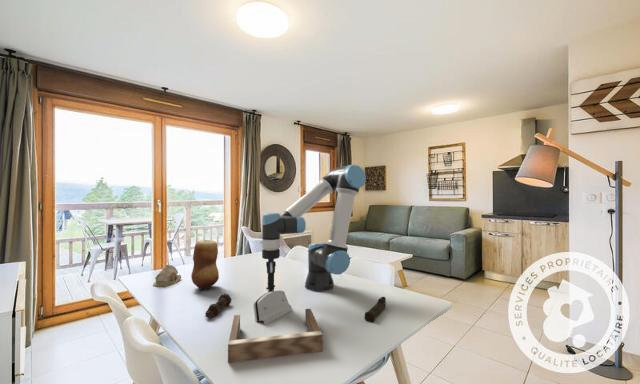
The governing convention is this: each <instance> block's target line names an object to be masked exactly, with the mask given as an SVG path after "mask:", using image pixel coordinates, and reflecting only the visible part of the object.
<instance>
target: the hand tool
mask: <svg viewBox="0 0 640 384" xmlns="http://www.w3.org/2000/svg"><path fill="white" fill-rule="evenodd" d="M386 301H387V300H386V297H385V296H381V297H380V298H378V299H377V302H376V303H375V304H374V306H372V307H371V308H369V310H368V311H365V313H364V320H365V321H366V322H369V323H374V322H375V320H376V317H378V315H380V313H381V312H382V311H385V309H386V305H387V303H386Z"/></svg>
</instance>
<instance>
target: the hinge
mask: <svg viewBox="0 0 640 384" xmlns="http://www.w3.org/2000/svg"><path fill="white" fill-rule="evenodd" d="M292 310H293V308H292V305H291V304H290V303H289V301H288V297H287V295H286V292H285V291H284V290H274V291H272V292H268V291H267V292H265V293H264V294H262V295H261V296H259V297H258V298H256V300H255V301H254V302H253V312H254V319H255V322H262V321H263V324H264V325H267V324H269V323H271V322H272V321H274V320H275V319H278V318H280V317H282V316H283V315H285V314H287V313H289V312H291V311H292Z"/></svg>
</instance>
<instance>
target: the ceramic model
mask: <svg viewBox="0 0 640 384" xmlns="http://www.w3.org/2000/svg"><path fill="white" fill-rule="evenodd" d="M178 273H179V272H178V269H177V268H176V267H175V266H173V265H172V264H170V265H169V264H165V266H164V267H163V268H162V269H161V271H160V272H159V273H158V274H156V276H155V282H153V284H152V285H153V287H167V286H173V285H175V284H177V283H179V282H180V281H181V280H182V275H180V274H178Z"/></svg>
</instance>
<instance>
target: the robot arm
mask: <svg viewBox="0 0 640 384" xmlns="http://www.w3.org/2000/svg"><path fill="white" fill-rule="evenodd" d="M366 179H367V176H366V173H365V171H364V169H363V168H362V167H361V166H360V165H357V164H348V165H344V166H343V165H342V166H337V167H335V168H333V169H331V170H330V171H329V172H328V173H326V174H325V175H324V176H323V177H322V178H320V179H319V182H318V183H317V184H316V185H315V186H313V187H312V188H311V189H310V190H308V191H307V192H306V193H305V194H304V195H303V196H301V197H300V198H298V199H297V200H296V201H295V202H293V204H292V205H290V206H289V207H288V208H287V209H285V210H284V211H283V212H281V213H279V212H267V213H266V212H265V213H263V215H262V221H261V227H262V228H261V229H262V232H261V233H262V241H260V244H262V245H261V246H262V250H261V251H262V252H261V258H262V259H264V260H268V261H266V262H265V263H266V264H265V266H266V267H265V268H266V274H267V284H266V285H267V287H266V288H265V289H266V290H267V293H268V292H272V291H275V288H276V285H275V273H276V267H277V265H276V260H277V259H280V256H281V254H280V253H281V251H280V250H281V249H280V248H281V237H280V236H281V235H288V234H289V235H293V234H294V235H295V234H297V235H298V234H302V233H304V232H305V230H306V226H307V223H306V222H307V221H306V220H305V218H304V217H303V215H305V214H306V213H307V212H309V211H310V210H311V209H312V208H313V207H314V206H315V205H317V204H318V203H319V202H320V201H321V200H322V199H324V198H325V197H326V196H327V195H331V194H333V193H334V192H335V191H336V192H337V196H336V197H337V198H336V201H335V207H334V212H333V216H332V221H331V226H330V231H329V235H328V236H329V237H328V239H327V240H326V241H325V242H315V243H310V244H309V245H308V250H307V253H308V254H307V255H308V262H307V263H308V268H307V269H308V271H307V275H306V279H305V282H304V285H305V286H304V287H305V289H307V290H309V291H313V292H325V291H329V290H331V289H334V287H335V285H334V279H333V276H332V274H333V275H338V276H339V275H342V274H343V273H345V272H346V271H347V269H349V267H350V264H351V257H350V255H349V253H348V250H349V247H348V245H347V239H348V234H349V229H350V223H351V218H352V214H353V208H354V201H355V197H356V196H357V195H359V191H360V188H362V187H363V186H364V185H365V183H366V181H367V180H366Z"/></svg>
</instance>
